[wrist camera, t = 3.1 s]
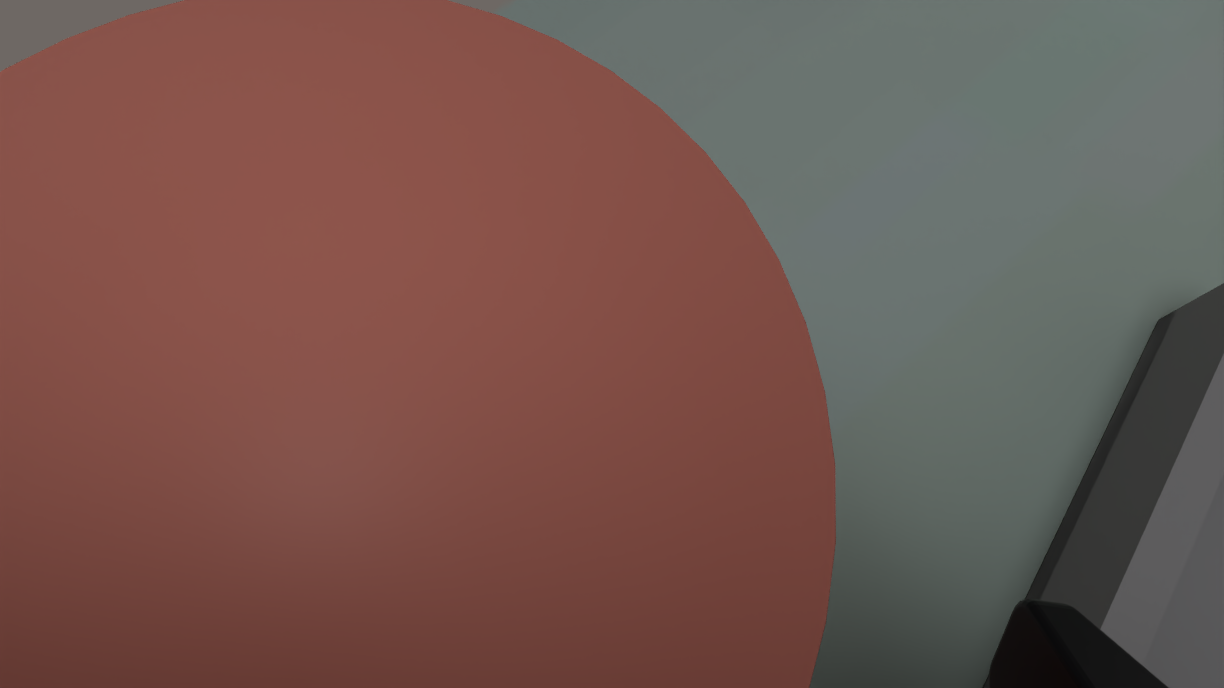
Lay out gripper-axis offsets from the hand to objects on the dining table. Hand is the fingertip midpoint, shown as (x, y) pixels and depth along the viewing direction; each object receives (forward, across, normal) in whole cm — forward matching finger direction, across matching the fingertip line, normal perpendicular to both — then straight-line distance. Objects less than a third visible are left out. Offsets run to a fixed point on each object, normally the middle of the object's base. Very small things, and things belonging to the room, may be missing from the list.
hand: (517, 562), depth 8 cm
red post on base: (+6, 0, +6) cm, 8 cm away
